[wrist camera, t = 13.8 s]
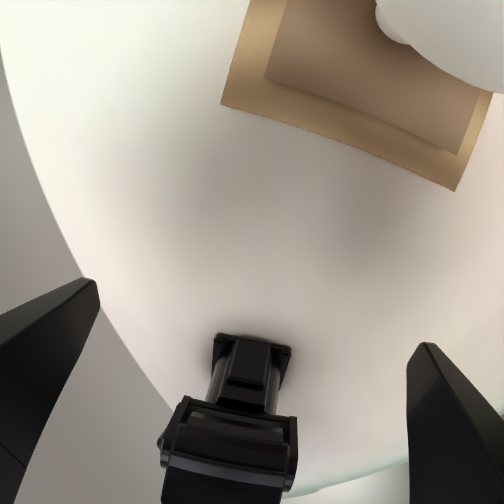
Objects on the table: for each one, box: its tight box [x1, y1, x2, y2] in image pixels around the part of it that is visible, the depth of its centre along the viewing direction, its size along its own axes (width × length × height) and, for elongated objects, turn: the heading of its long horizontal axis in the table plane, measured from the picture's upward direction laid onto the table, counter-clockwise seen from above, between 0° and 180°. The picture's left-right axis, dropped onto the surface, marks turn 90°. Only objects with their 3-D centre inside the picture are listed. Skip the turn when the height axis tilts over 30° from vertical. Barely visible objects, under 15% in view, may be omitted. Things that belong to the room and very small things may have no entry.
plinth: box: [220, 0, 493, 192], centre depth 12 cm, size 14×14×4 cm
